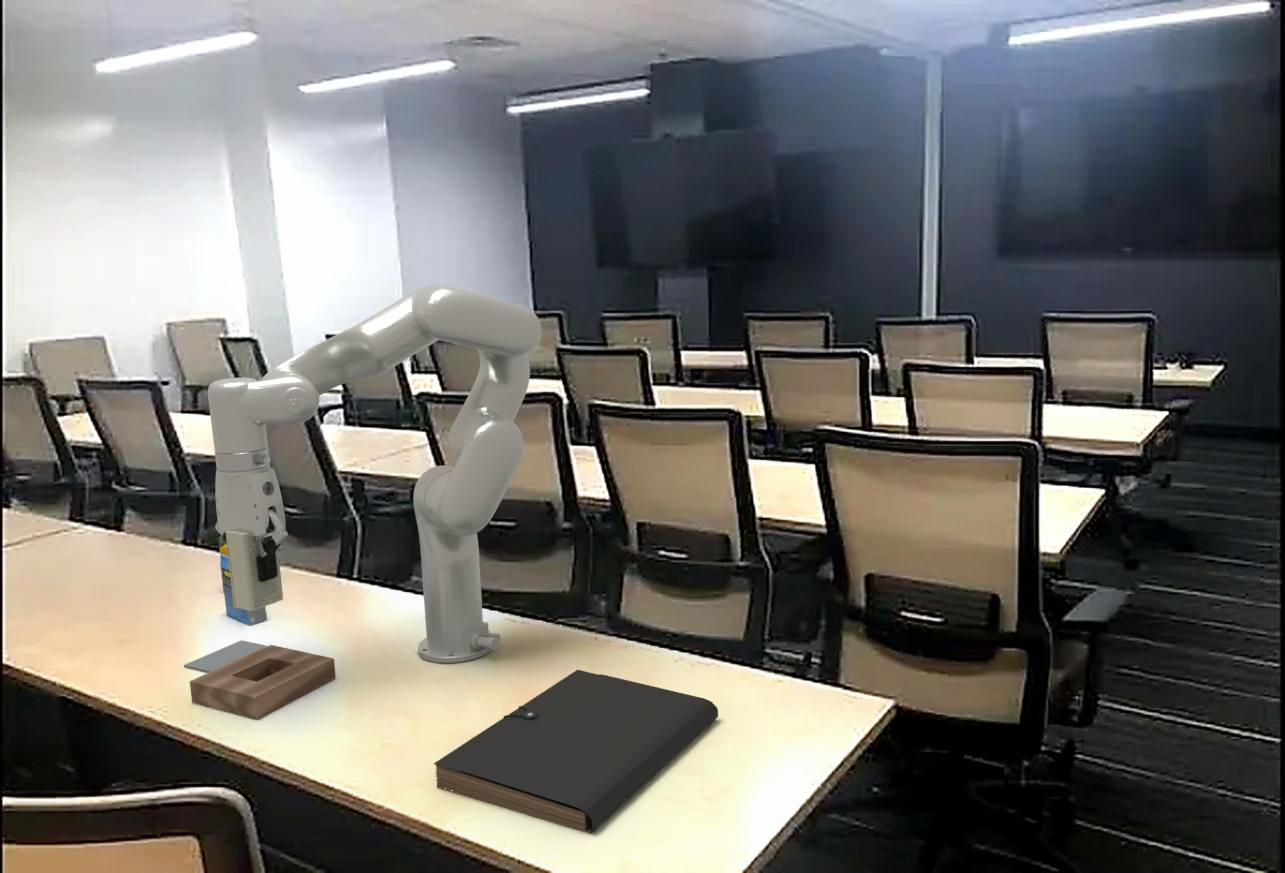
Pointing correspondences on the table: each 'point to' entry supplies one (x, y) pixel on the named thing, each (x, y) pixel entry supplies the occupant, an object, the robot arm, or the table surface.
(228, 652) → the slate mat
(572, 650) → the table surface
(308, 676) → the pocket block
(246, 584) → the skincare box
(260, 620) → the label tape box
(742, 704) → the table surface
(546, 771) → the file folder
